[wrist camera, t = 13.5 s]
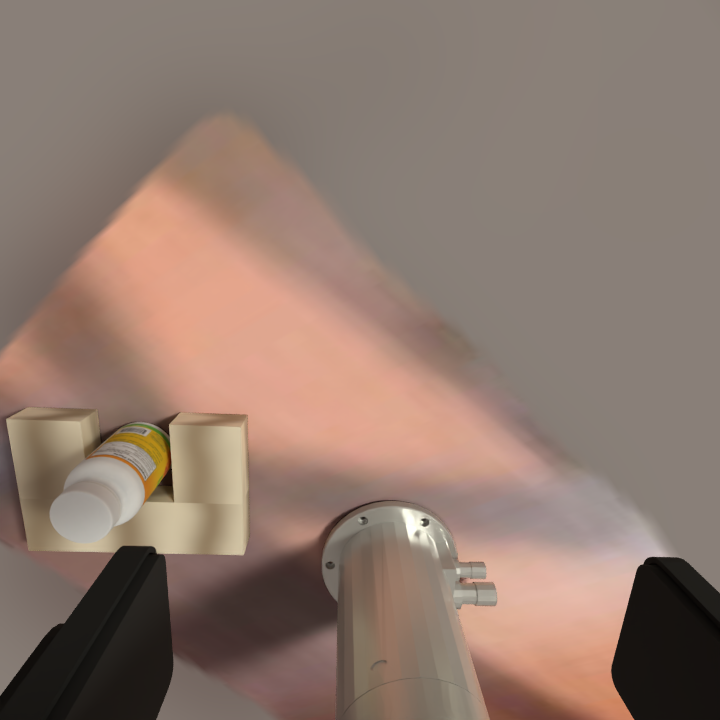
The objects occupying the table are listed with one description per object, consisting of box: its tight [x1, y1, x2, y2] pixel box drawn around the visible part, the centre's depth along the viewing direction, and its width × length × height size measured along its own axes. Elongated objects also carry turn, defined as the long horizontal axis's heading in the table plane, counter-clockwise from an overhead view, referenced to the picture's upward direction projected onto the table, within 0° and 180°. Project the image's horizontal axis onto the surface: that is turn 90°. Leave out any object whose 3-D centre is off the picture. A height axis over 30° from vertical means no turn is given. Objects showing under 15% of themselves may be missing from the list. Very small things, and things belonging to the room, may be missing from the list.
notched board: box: [6, 407, 250, 555], centre depth 38 cm, size 18×12×2 cm, turn 87°
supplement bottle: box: [49, 422, 172, 543], centre depth 34 cm, size 5×5×10 cm
